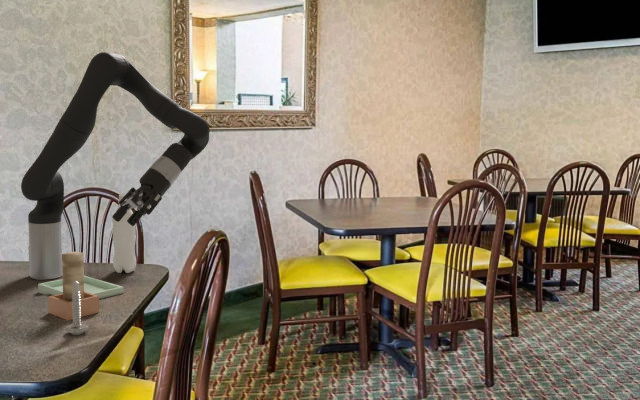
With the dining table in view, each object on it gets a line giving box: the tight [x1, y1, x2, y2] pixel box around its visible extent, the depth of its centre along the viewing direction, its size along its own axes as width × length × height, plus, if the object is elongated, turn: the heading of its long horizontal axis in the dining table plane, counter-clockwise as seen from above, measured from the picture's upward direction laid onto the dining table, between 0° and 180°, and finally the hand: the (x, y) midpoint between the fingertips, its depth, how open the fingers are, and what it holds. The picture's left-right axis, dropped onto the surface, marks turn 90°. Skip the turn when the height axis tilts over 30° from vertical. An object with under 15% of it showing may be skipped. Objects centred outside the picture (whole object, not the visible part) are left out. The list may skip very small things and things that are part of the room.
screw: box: [64, 281, 89, 336], centre depth 144 cm, size 13×5×5 cm
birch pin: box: [61, 251, 85, 302], centre depth 158 cm, size 5×5×15 cm
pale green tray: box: [37, 275, 125, 300], centre depth 178 cm, size 20×14×2 cm
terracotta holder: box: [47, 291, 100, 321], centre depth 159 cm, size 9×9×5 cm
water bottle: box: [111, 193, 137, 274], centre depth 204 cm, size 7×7×25 cm
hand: (122, 221), depth 167 cm, fingers open, 8 cm apart
